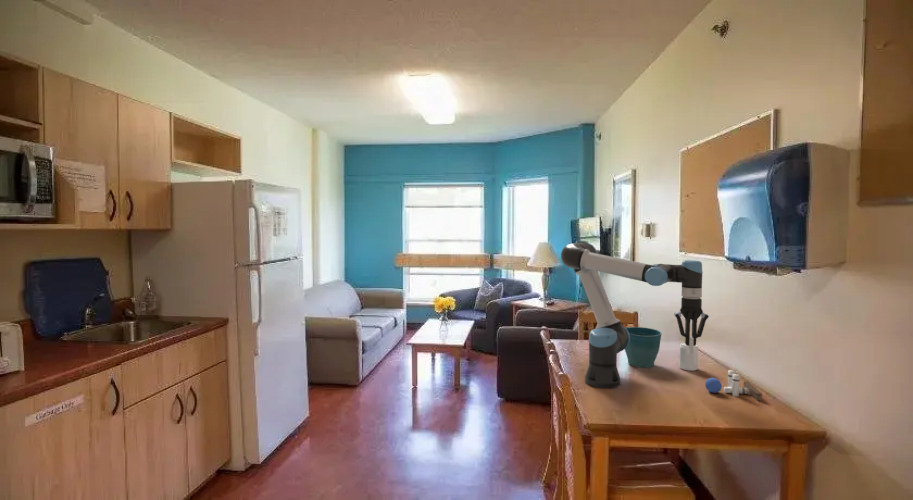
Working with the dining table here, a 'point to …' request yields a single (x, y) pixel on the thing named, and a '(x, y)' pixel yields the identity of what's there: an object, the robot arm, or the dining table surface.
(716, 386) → the ball
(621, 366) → the dining table surface
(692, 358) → the beverage can
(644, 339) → the flower pot
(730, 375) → the pin
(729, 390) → the front pin
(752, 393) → the wall
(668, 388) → the dining table surface
